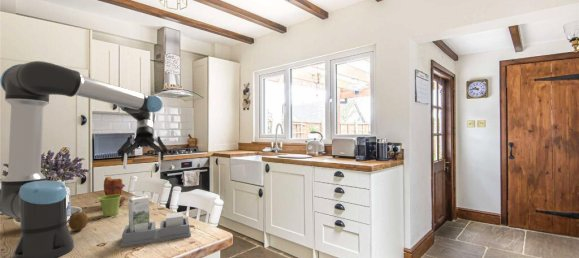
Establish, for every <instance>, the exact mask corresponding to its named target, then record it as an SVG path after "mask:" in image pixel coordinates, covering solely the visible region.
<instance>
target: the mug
mask: <svg viewBox="0 0 579 258" xmlns="http://www.w3.org/2000/svg"><path fill="white" fill-rule="evenodd" d="M125 185H126V184H124V183H123V178H112V177H111V176H107V177H105V178H104V180H103V191H104V194H105V195H104V196H107V195H122V196H121V199H120V203H119V207H120V206H123V204H124V202H125V200H126V197H124V193H123V192H124V187H126V186H125Z"/></svg>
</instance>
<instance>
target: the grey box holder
mask: <svg viewBox="0 0 579 258" xmlns="http://www.w3.org/2000/svg"><path fill="white" fill-rule="evenodd" d="M149 222H150V221H149ZM188 237H192V232H191V227H190V222H189V218H188V217H184V212H183V211H180V212H173V213H166V214H165V220H160V227H159V228H156V221H151V222H150V230H144V231H137V232H130V233H129V224H127V225H125V228H124V229H123V232H122V235H121V241H120V245H119V246H120V248H125V247H131V246H138V245H144V244H150V243H151V244H152V243H156V242H157V243H158V242H164V241H170V240H176V239H182V238H188Z"/></svg>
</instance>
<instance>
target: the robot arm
mask: <svg viewBox="0 0 579 258" xmlns="http://www.w3.org/2000/svg"><path fill="white" fill-rule="evenodd" d="M0 76H1V77H0V86H1V88H2V90H3V91H4V92H5V93H4V94H5V96H4V101H6V102H7V103H8V104H9V105H10V121H9V123H10V124H9V139H8V140H9V141H8V145H9V146H8V166H7V175H6V176H5V177H3V178H2V179H1V182H0V184H1V185H0V213H2V214H4V215H5V216H7V217H10V218H17V219H20V220H19V221H20V236H19V240H18V242H17V244H16V247H15V249H14V252H13V258H59V257H62V256H63V255H66V254H67V253H69V252H72V250H74V247H75V246H74V245H75V242H74V241H75V240H74V238H73V236H72V233H71V232H70V230H69V228H68V222H67V211H66V195H67V192H66V188H65V187H66V185H65V184H64V183H63V182H62V181H58V180H47V177H46V176H45V175H44V174H43V173H42V172H41V171H42V149H43V147H42V146H43V127H44V126H43V125H44V108H45V107H46V106H47V105H48V104H50V95H51V96H52V95H56V96H57V95H58V96H64V97H71V98H72V97H75V96H78V97H82V98H87V99H89V100H94V101H98V102H103V103H107V104H112V105H117V106H118V107H119V108H120V109H121V111H124V112H126V114H128V115H130V116H131V118H133V119H135V120H136V121H137V122H136V131H135V137H134V138H131V136H129V137H127V139H126V141H125V142H124V144H122V145H121V147H120V148H119V149H118V150H117V152H116V153H117V156H118V157H121V158H120V161H121V163H122V166H123V170H126V169H127V163H128V156H129V154H130V153H132V152H133V151H134V150H136V149H138V148H139V147H140V148H149V147H150V148H151V149H153V150H154V151H155V152H157V153H158V161H157V163H158V168H161V163H162V161H164V155H167V154H169V149H168V148H167V147H166V145H165V144H164V142H163V141H162V139H161V136H157V137H155V136H154V133H155V118H156V114H155V113H157V112H160V111H161V110H162V108H163V100H162V98H161V97H160V96H158V95H152V94H150V95H148V94H145V93H141V92H137V91H135V90H131V89H127V88H123V87H122V86H121V87H120V86H117V85H114V84H110V83H108V82H104V81H101V80H98V79H95V78H90V77H88V76H84V75H82V74H81V73H80V71H78V70H74V69H71V68H68V67H65V66H63V65H58V64H54V63H52V62H48V61H47V62H46V61H43V60H42V61H41V60H35V61H28V62H25V63H20V64H15V65H12V66H10V67H9V68H7V69H6V70H4V71H3V72H2V74H1V75H0ZM155 143H156V144H155ZM157 144H158V145H157Z"/></svg>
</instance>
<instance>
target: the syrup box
mask: <svg viewBox="0 0 579 258" xmlns="http://www.w3.org/2000/svg"><path fill="white" fill-rule="evenodd" d="M128 225H129V233H130V232H137V231H144V230H150V197H149V196H148V195H147V194H141V195H133V196H129V197H128Z"/></svg>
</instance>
